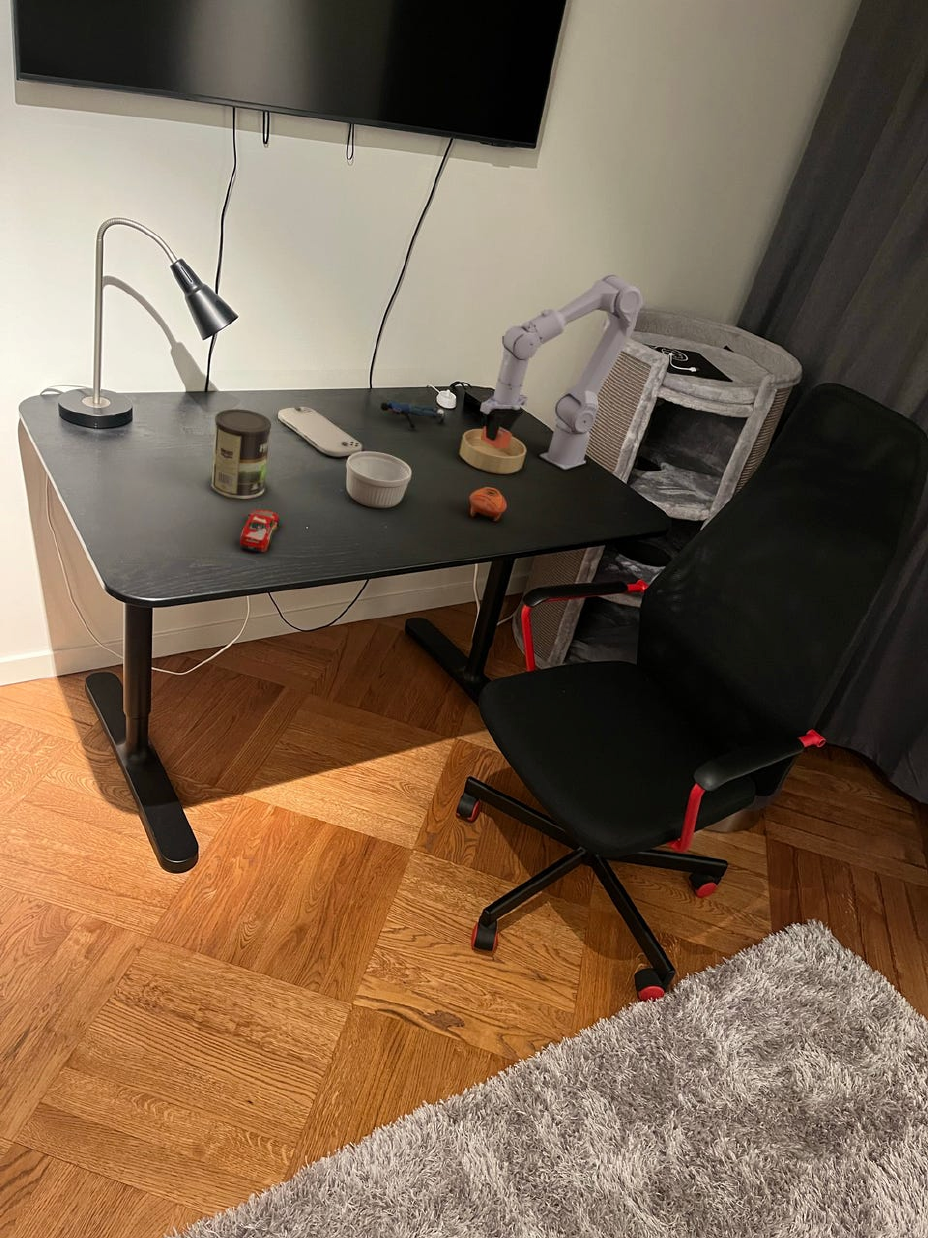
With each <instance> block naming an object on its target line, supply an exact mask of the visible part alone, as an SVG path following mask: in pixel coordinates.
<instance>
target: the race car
mask: <svg viewBox="0 0 928 1238" xmlns="http://www.w3.org/2000/svg"><path fill="white" fill-rule="evenodd" d="M246 516H247V517H248V518H247V521H246V523H245V525H244V527H243V529H242V531H241V533H240V536H239V543H238V544H239V547H240V548H242V549H243V550H244V549H245V550H249V551H254V552H258V553H260V552H266V551H267V550H269V548H270V544H272V543H271V542H272V541H273V538H274V537H275V534H276V532H277V529H278V526H279V521H280V517H279V515H278V514H277V513H276V512H274V511H271V510H269V509H268V510H267V509H255V510H253V511H251V513H250V514H248V513H247V514H246Z"/></svg>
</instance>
